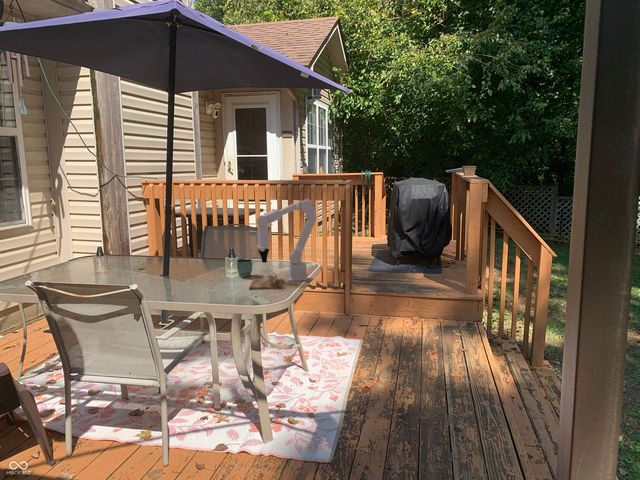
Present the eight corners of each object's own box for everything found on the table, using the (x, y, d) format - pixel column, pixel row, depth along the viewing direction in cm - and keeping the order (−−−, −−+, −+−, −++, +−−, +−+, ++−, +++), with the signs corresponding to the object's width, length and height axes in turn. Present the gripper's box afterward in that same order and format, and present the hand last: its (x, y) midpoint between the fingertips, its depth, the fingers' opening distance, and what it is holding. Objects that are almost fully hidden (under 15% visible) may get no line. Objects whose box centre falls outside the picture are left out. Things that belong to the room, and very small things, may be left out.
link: (270, 279, 268) (270, 272, 267) (277, 278, 268) (277, 271, 267) (267, 284, 256) (266, 277, 256) (275, 284, 256) (274, 276, 255)
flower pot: (237, 278, 278) (236, 262, 277) (236, 275, 286) (236, 259, 285) (253, 277, 280) (252, 261, 278) (252, 274, 288) (251, 258, 287)
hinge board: (283, 280, 269) (282, 269, 268) (280, 288, 251) (280, 276, 250) (253, 281, 269) (253, 270, 268) (249, 289, 251) (248, 277, 250)
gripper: (257, 236, 275) (258, 260, 277) (254, 239, 260) (255, 265, 262) (270, 235, 275) (271, 259, 277) (267, 239, 260) (268, 264, 262)
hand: (264, 262), depth 270 cm, fingers closed
